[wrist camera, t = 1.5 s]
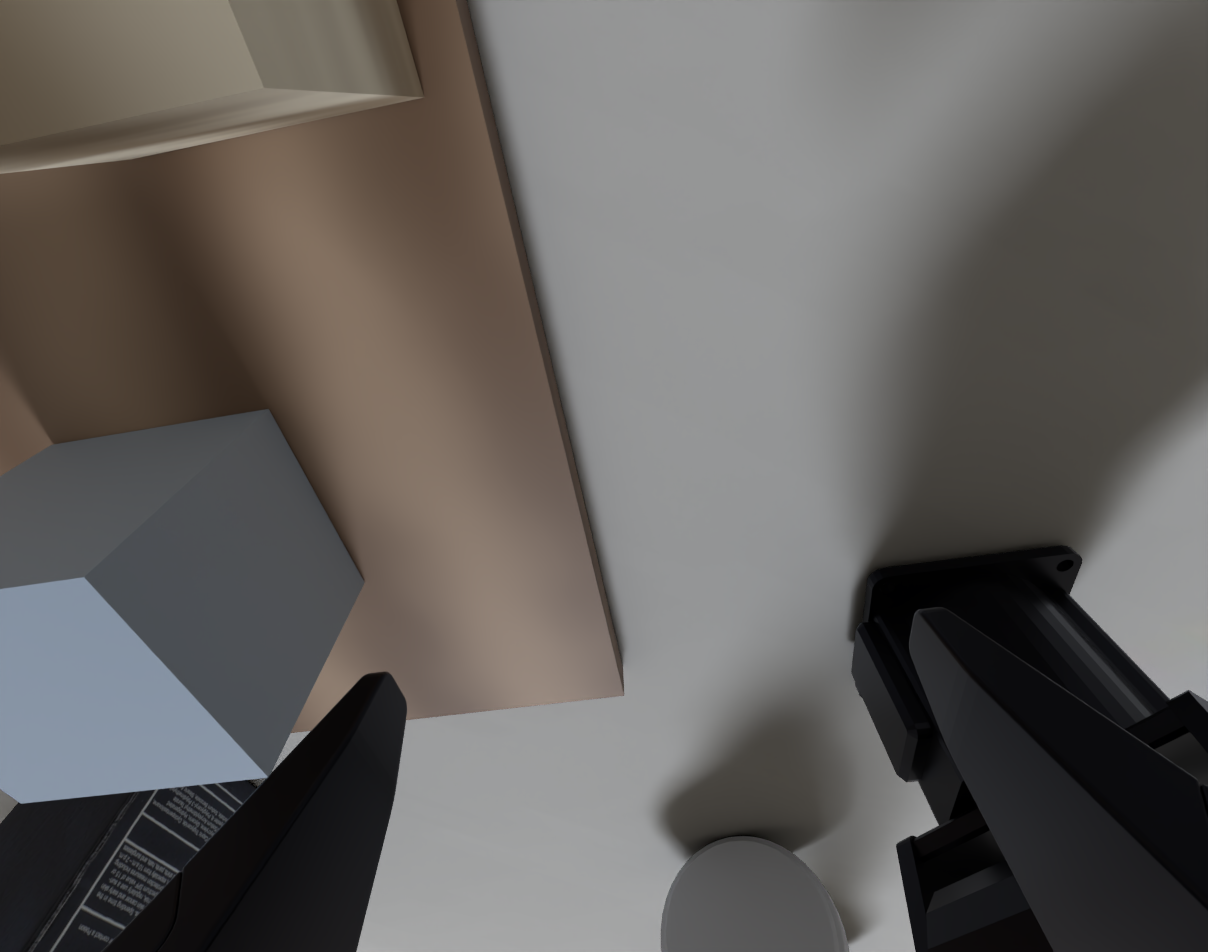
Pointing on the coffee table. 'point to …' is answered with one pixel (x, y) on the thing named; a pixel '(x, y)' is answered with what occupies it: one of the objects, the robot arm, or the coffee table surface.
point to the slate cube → (161, 608)
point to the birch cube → (186, 72)
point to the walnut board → (338, 367)
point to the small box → (99, 860)
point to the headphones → (749, 902)
